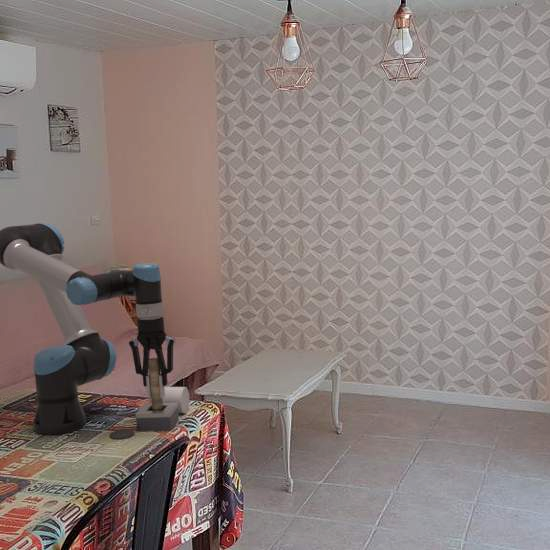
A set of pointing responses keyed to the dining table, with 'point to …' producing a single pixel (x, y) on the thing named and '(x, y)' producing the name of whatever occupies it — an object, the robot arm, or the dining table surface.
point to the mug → (177, 397)
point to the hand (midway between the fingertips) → (156, 396)
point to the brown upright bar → (155, 384)
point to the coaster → (121, 434)
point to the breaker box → (157, 417)
